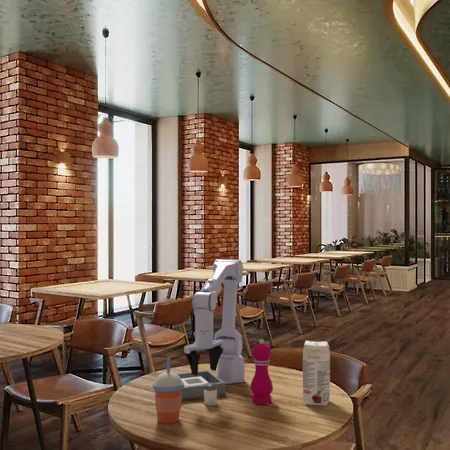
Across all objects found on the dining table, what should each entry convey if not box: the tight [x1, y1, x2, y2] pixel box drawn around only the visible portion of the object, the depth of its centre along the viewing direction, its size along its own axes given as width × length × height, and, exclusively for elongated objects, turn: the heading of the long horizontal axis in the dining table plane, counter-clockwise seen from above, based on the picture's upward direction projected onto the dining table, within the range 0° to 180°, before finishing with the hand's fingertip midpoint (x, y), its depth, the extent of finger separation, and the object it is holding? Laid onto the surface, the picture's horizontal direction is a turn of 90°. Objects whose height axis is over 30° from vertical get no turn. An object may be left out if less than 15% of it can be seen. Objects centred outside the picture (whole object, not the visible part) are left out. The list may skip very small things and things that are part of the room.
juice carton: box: [302, 340, 331, 407], centre depth 162 cm, size 8×9×19 cm
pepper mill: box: [250, 338, 274, 406], centre depth 162 cm, size 7×7×20 cm
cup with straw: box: [152, 356, 184, 425], centre depth 147 cm, size 9×9×18 cm
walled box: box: [176, 369, 226, 402], centre depth 173 cm, size 17×16×4 cm
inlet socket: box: [181, 376, 208, 387], centre depth 173 cm, size 8×8×3 cm
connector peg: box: [203, 383, 218, 407], centre depth 160 cm, size 4×4×6 cm
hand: (204, 372), depth 162 cm, fingers open, 7 cm apart
